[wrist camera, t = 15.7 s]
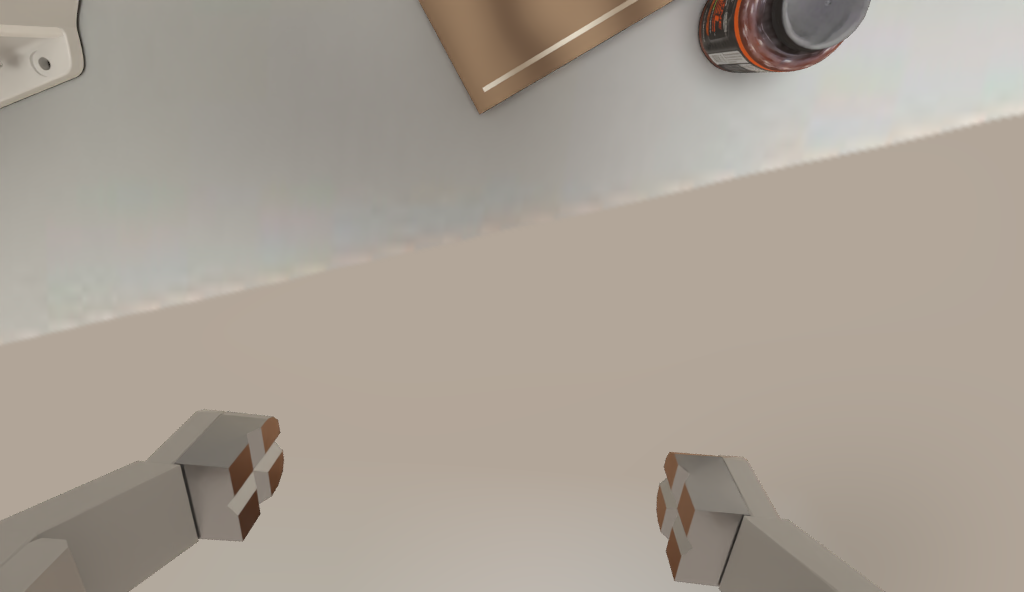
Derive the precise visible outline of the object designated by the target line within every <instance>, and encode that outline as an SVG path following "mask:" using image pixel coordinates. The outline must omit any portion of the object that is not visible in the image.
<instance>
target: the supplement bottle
mask: <svg viewBox="0 0 1024 592" xmlns="http://www.w3.org/2000/svg"><path fill="white" fill-rule="evenodd" d="M870 1H871V0H708V1H707V3H706V5H705V7H704V9H703V12H702V15H701V20H700V25H699V38H700V44H701V47H702V50H703V52H704V53H705V55H706V57H707V58H708V59H709V61H710V62H712V63H713V64H714V65H715V66H716V67H718V68H720V69H722V70H725V71H729V72H736V73H751V72H752V73H753V72H790V71H797V70H801V69H804V68H808V67H810V66H812V65H814V64H816V63H818V62H820V61H822V60H823V59H825V58H826V57H827V56H829V55H830V54H831V53H832V52H833V51H835V50H836V49H837V47H838V46H839V45H840V44H841V43H842V42H843V41H844V40H845V39H846V38H848V37H849V36H850V35H851V34H852V33H853V32H854V31H855V30H856V29H857V27H858V26H859V25H860V23H861V22H862V20H863V19H864V17H865V15H866V12H867V10H868V7H869V4H870Z"/></svg>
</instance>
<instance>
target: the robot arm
mask: <svg viewBox="0 0 1024 592" xmlns="http://www.w3.org/2000/svg"><path fill="white" fill-rule="evenodd" d="M78 2H79V0H0V108H2V107H4V106H7V105H9V104H12V103H14V102H17V101H19V100H21V99H24V98H26V97H29V96H31V95H34V94H36V93H39V92H41V91H43V90H46V89H48V88H51V87H53V86H56V85H58V84H60V83H63V82H65V81H68V80H70V79H73V78H75V77H77V76H79V75H80V74H81V72H82V70H83V66H84V61H83V54H82V48H81V44H80V39H79V35H78V32H77V27H76V19H77V9H78ZM48 61H49V62H50V65H51V68H50V67H49V65H48ZM279 434H280V428H279V423H278V419H276V418H275V417H273V416H265V415H256V414H247V413H237V412H229V411H227V412H224V411H216V410H207V409H203V410H200V411H197V412H195V413H194V414H193V415H192V416H191V417H190V418H189V419H188V420H187V421H186V422H185V423H184V424H183V425H182V426H181V427H180V428H179V429H178V430H177V431H176V432H175V433H174V434H173V435H172V436H171V437H170V438H169V439H168V440H167V441H166V442H164V443H163V444H162V445H161V446H160V447H159V448H158V449H157V450H156V451H155V452H154V453H153V454H152V455H151V456H150V457H149V458H148V459H147V460H146V461H145V462H144V461H136V462H133V463H131V464H129V465H127V466H124V467H122V468H120V469H118V470H116V471H113V472H111V473H108V474H106V475H104V476H102V477H99V478H97V479H95V480H92V481H90V482H88V483H86V484H83V485H81V486H79V487H76V488H74V489H72V490H70V491H67V492H65V493H63V494H60V495H58V496H56V497H54V498H51V499H49V500H47V501H45V502H42V503H40V504H38V505H36V506H33V507H31V508H28V509H26V510H24V511H22V512H19V513H17V514H15V515H13V516H10V517H8V518H6V519H4V520H1V521H0V592H129V591H130V590H132V589H133V588H134V587H136V586H137V585H138V584H140V583H141V582H143V581H144V580H145V579H147V578H148V577H150V576H151V575H152V574H154V573H155V572H157V571H158V570H159V569H161V568H162V567H163V566H165V565H166V564H168V563H169V562H170V561H172V560H173V559H175V558H176V557H177V556H179V555H180V554H181V553H183V552H184V551H186V550H187V549H188V548H190V547H191V546H193V545H194V544H195V543H197V542H198V539H211V540H228V541H243V540H244V539H245V537H246V536H247V534H248V533H249V531H250V530H251V528H252V527H253V525H254V523H255V522H256V520H257V519H258V517H259V516H260V508H259V504H260V503H262V502H263V501H265V500H267V499H268V498H270V497H271V496H272V495H273V493H274V491H275V490H276V488H277V487H278V484H279V482H280V479H281V475H282V472H283V464H284V456H283V450H282V449H281V448H280V447H279V445H278V444H277V443H276V442H275V439H276V438H277V437H278V435H279ZM664 470H665V473H666V476H667V478H666V479H665V480H664V481H662V482H661V483H660V484H659V489H658V493H657V509H656V510H657V518H658V524H659V527H660V531H661V533H663V535H665V536H666V537H667V538H668V539H669V540H668V545H667V548H666V553H667V557H668V560H669V564H670V568H671V571H672V574H673V578H674V581H677V582H686V583H695V584H702V585H711V586H719V589H720V590H721V592H885V591H883V590H882V589H881V588H879V587H878V586H877V585H875V584H874V583H873V582H871V581H870V580H869V579H867V578H866V577H865V576H863V575H862V574H861V573H859V572H858V571H857V570H855V569H854V568H852V567H851V566H850V565H849V564H847V563H846V562H845V561H843V560H842V559H841V558H839V557H838V556H836V555H835V554H834V553H832V552H831V551H829V550H828V549H827V548H826V547H824V546H823V545H822V544H820V543H819V542H818V541H816V540H815V539H814V538H812V537H811V536H810V535H808V534H807V533H806V532H804V531H803V530H802V529H800V528H799V527H798V526H796V525H795V524H794V523H792V522H791V521H790V520H787V519H780V517H779V515H778V513H777V512H776V510H775V508H774V506H773V504H772V503H771V501H770V499H769V497H768V496H767V494H766V492H765V490H764V489H763V487H762V485H761V483H760V481H759V480H758V478H757V476H756V474H755V473H754V471H753V469H752V467H751V465H750V464H749V462H748V460H747V459H745V458H744V457H737V456H722V455H718V456H713V455H702V454H690V453H677V452H669V454H668V455H667V457H666V460H665V464H664Z"/></svg>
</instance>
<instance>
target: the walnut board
mask: <svg viewBox="0 0 1024 592" xmlns="http://www.w3.org/2000/svg"><path fill="white" fill-rule="evenodd" d="M672 1H673V0H419V2H420V4H421V6H422V8H423V10H424V11H425V13H426V15H427V17H428V19H429V21H430V23H431V24H432V26H433V28H434V30H435V32H436V34H437V36H438V37H439V39H440V41H441V43H442V45H443V47H444V49H445V51H446V52H447V54H448V56H449V58H450V60H451V62H452V64H453V65H454V67H455V69H456V71H457V73H458V75H459V77H460V78H461V80H462V82H463V84H464V86H465V88H466V90H467V91H468V93H469V95H470V97H471V99H472V101H473V103H474V105H475V106H476V108H477V110H478V112H479V114H481V113H483V112H485V111H487V110H488V109H490V108H492V107H493V106H495V105H497V104H498V103H500V102H502V101H504V100H505V99H507V98H509V97H510V96H512V95H514V94H515V93H517V92H519V91H521V90H522V89H524V88H526V87H527V86H529V85H531V84H532V83H534V82H536V81H538V80H539V79H541V78H543V77H544V76H546V75H548V74H549V73H551V72H553V71H554V70H556V69H558V68H560V67H561V66H563V65H565V64H566V63H568V62H570V61H571V60H573V59H575V58H577V57H578V56H580V55H582V54H583V53H585V52H587V51H588V50H590V49H592V48H594V47H595V46H597V45H599V44H600V43H602V42H604V41H605V40H607V39H609V38H611V37H612V36H614V35H616V34H617V33H619V32H621V31H622V30H624V29H626V28H627V27H629V26H631V25H633V24H634V23H636V22H638V21H639V20H641V19H643V18H644V17H646V16H648V15H650V14H651V13H653V12H655V11H656V10H658V9H660V8H661V7H663V6H665V5H667V4H668V3H670V2H672Z"/></svg>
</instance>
